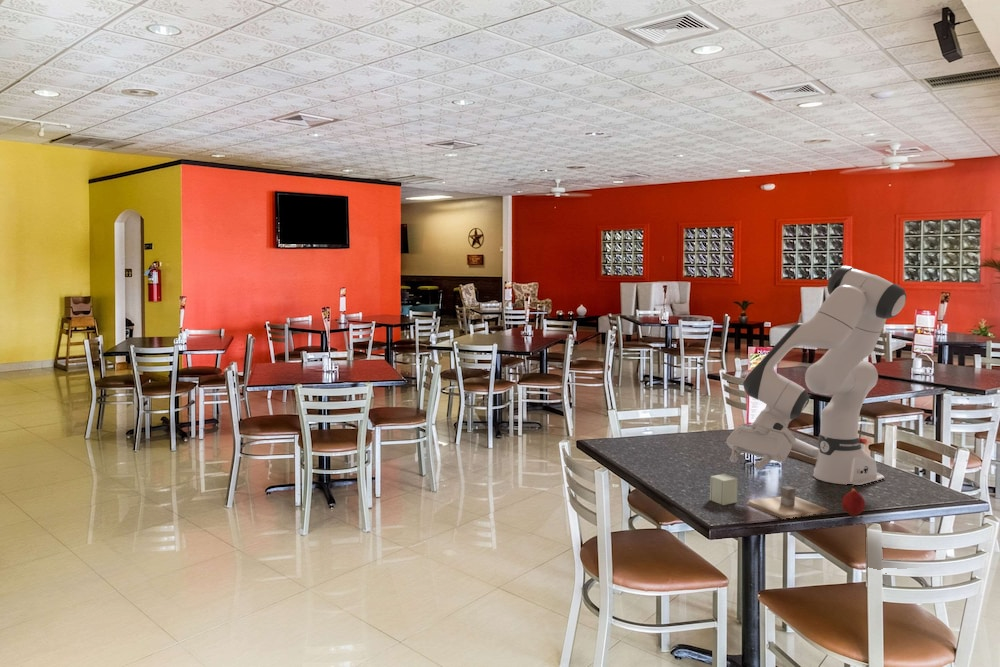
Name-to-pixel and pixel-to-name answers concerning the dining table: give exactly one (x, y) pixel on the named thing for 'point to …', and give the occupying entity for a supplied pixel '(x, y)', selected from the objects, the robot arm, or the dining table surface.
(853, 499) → the onion
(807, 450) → the tube
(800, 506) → the post board
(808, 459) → the tube rack
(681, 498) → the dining table surface
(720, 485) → the slotted sage cube
